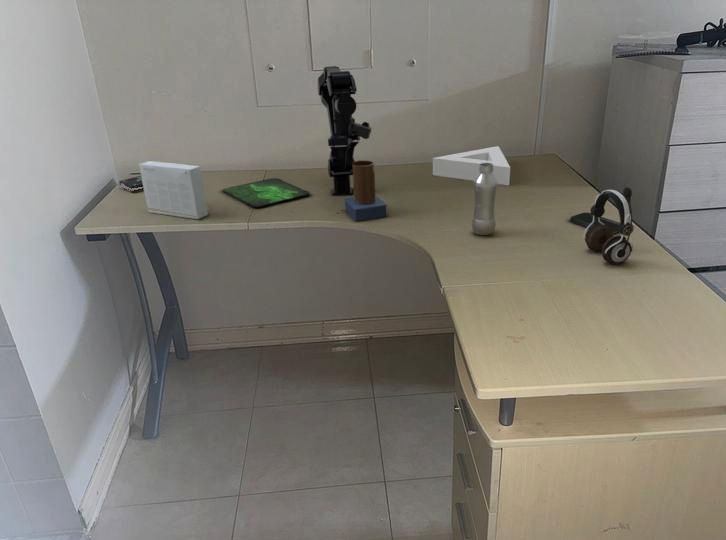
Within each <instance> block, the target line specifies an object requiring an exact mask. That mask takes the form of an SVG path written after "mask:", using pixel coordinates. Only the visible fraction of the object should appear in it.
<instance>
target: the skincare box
mask: <svg viewBox="0 0 726 540" xmlns="http://www.w3.org/2000/svg"><path fill="white" fill-rule="evenodd" d="M138 168H139V172H140V176H141V177H142V182H143V188H144V190H143V193H144V196H145V197H144V198H145V201H146V207H148V208H154V209H160V210H165V211H169V212H174V213H181V214H188V215H193V216H199V217H193V216H187V215H180V214H173V213H166V212H160V211H153V210H148V208H147V213H150V214H158V215H164V216H172V217H179V218H185V219H192V220H193V219H194V220H200V219H202V218H204V217H206V216H208V215H209V213H208V206H207V201H206V194H205V189H204V181H203V175H202V169H201V166H200V165H192V164H184V163H173V162H164V161H155V160H154V161H153V160H148V161H145V162H142V163H138ZM205 213H206V214H205ZM203 214H204V215H203ZM200 215H202V216H200Z"/></svg>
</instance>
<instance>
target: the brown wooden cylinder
mask: <svg viewBox="0 0 726 540" xmlns="http://www.w3.org/2000/svg"><path fill="white" fill-rule="evenodd" d="M355 161H356V162H354V163H353V164H352V166H353V175H352V180H353V181H352V184H353V197H354V200H355V203H356V204H360V205H368V204H373V203H375V201H376V197H375V195H376V173H375V171H376V170H375V162H374V161H372V160H366V159H365V160H355Z"/></svg>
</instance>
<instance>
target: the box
mask: <svg viewBox="0 0 726 540" xmlns="http://www.w3.org/2000/svg"><path fill="white" fill-rule="evenodd" d="M375 197H376V201H375V203H373V204H368V205H360V204H356V203H355V200H354V196H352V197H346V198H345V197H344V198H343V201H344V210H345V212H346V213H347V214H348V215H349V216H350V217H351V218H352V219H353V220H354V221H355V222H361V221H368V220H374V219H375V220H376V219H381V218H386V217H387V207H388V204H387V203H386V202H385V201H384V200H382V199H381V198H380V197H379V196H377V195H376V194H375Z"/></svg>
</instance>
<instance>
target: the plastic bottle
mask: <svg viewBox="0 0 726 540" xmlns="http://www.w3.org/2000/svg"><path fill="white" fill-rule="evenodd" d="M479 172H480V173H479V175H478V176H477V177H476V178H475V180H474V181H473V182H472V184H473V194H474V211H473V216H472V221H471V229H472V231H473V232H474V234H476V235H480V236H488V235H492V234H493V233H494V232H495V230H496V226H497V225H496V218H495V200H496V194H497V189H498V184H497V180H496V178H495V177H494V175H493V174H492V172H493V164H492V163H481V164H480V167H479Z"/></svg>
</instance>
